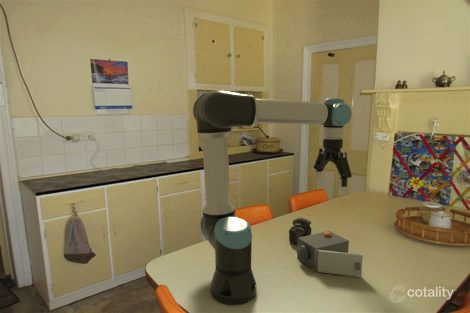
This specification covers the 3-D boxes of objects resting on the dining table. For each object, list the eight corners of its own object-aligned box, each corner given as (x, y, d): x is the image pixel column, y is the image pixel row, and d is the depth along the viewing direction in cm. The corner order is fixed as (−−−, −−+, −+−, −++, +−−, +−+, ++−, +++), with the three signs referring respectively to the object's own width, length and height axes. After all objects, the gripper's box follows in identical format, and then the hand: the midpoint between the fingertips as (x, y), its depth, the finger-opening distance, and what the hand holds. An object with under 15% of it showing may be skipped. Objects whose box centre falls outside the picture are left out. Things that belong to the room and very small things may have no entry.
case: (310, 271, 118) (311, 247, 116) (293, 258, 128) (293, 236, 126) (347, 261, 126) (349, 238, 124) (328, 250, 135) (329, 228, 134)
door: (314, 272, 116) (315, 251, 115) (314, 269, 118) (315, 249, 117) (361, 278, 113) (362, 256, 111) (360, 275, 114) (362, 254, 113)
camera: (311, 246, 139) (312, 224, 137) (288, 245, 141) (288, 223, 139) (310, 235, 152) (311, 214, 150) (289, 233, 154) (290, 213, 152)
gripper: (363, 140, 117) (360, 197, 120) (321, 135, 140) (319, 182, 143) (347, 141, 114) (344, 199, 118) (306, 135, 137) (304, 184, 140)
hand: (330, 190), depth 130 cm, fingers open, 13 cm apart
